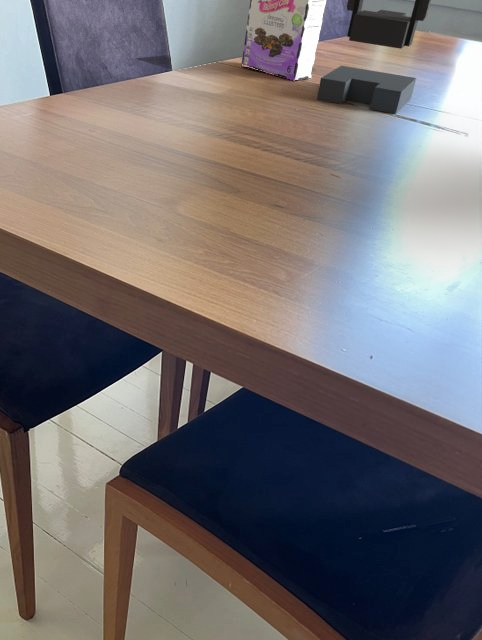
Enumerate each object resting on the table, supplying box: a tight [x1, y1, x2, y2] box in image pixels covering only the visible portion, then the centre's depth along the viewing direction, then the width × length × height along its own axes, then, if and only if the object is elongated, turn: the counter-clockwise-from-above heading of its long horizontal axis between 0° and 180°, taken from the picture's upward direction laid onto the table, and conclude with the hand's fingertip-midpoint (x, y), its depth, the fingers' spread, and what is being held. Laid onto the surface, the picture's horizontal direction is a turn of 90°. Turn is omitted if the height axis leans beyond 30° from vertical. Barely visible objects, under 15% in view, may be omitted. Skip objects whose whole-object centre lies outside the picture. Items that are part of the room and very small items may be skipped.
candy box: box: [241, 0, 327, 82], centre depth 139 cm, size 14×6×16 cm, turn 43°
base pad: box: [316, 65, 417, 115], centre depth 131 cm, size 14×14×4 cm
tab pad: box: [348, 9, 411, 50], centre depth 112 cm, size 8×10×4 cm
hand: (379, 40), depth 112 cm, fingers closed on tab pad, 8 cm apart
